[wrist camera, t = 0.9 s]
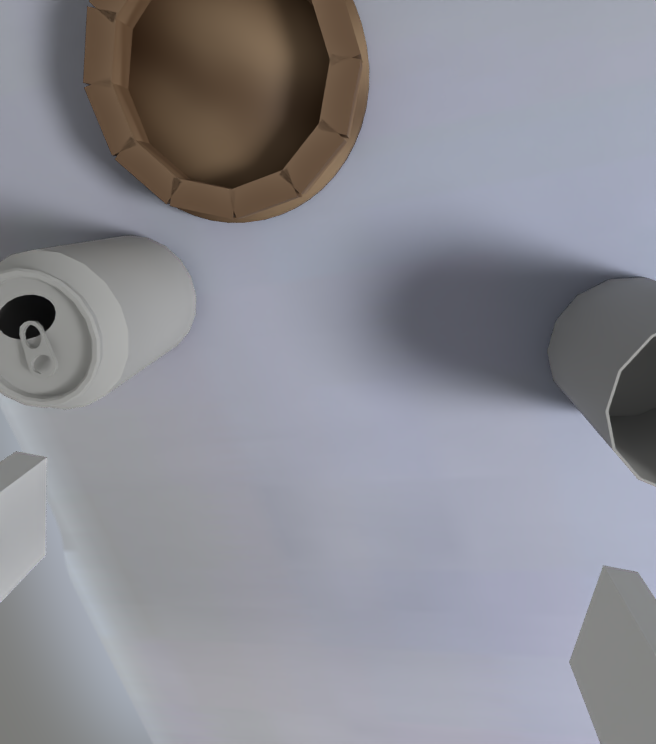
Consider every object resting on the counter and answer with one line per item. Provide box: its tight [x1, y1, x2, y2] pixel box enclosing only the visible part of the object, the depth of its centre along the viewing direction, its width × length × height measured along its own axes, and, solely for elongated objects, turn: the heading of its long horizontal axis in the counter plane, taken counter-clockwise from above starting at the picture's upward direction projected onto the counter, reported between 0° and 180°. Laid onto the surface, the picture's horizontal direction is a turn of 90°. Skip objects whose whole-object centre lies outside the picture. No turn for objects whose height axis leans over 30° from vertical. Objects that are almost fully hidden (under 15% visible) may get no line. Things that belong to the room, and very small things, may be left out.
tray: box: [83, 0, 369, 223], centre depth 31 cm, size 15×15×3 cm
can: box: [0, 235, 196, 410], centre depth 30 cm, size 8×8×12 cm
